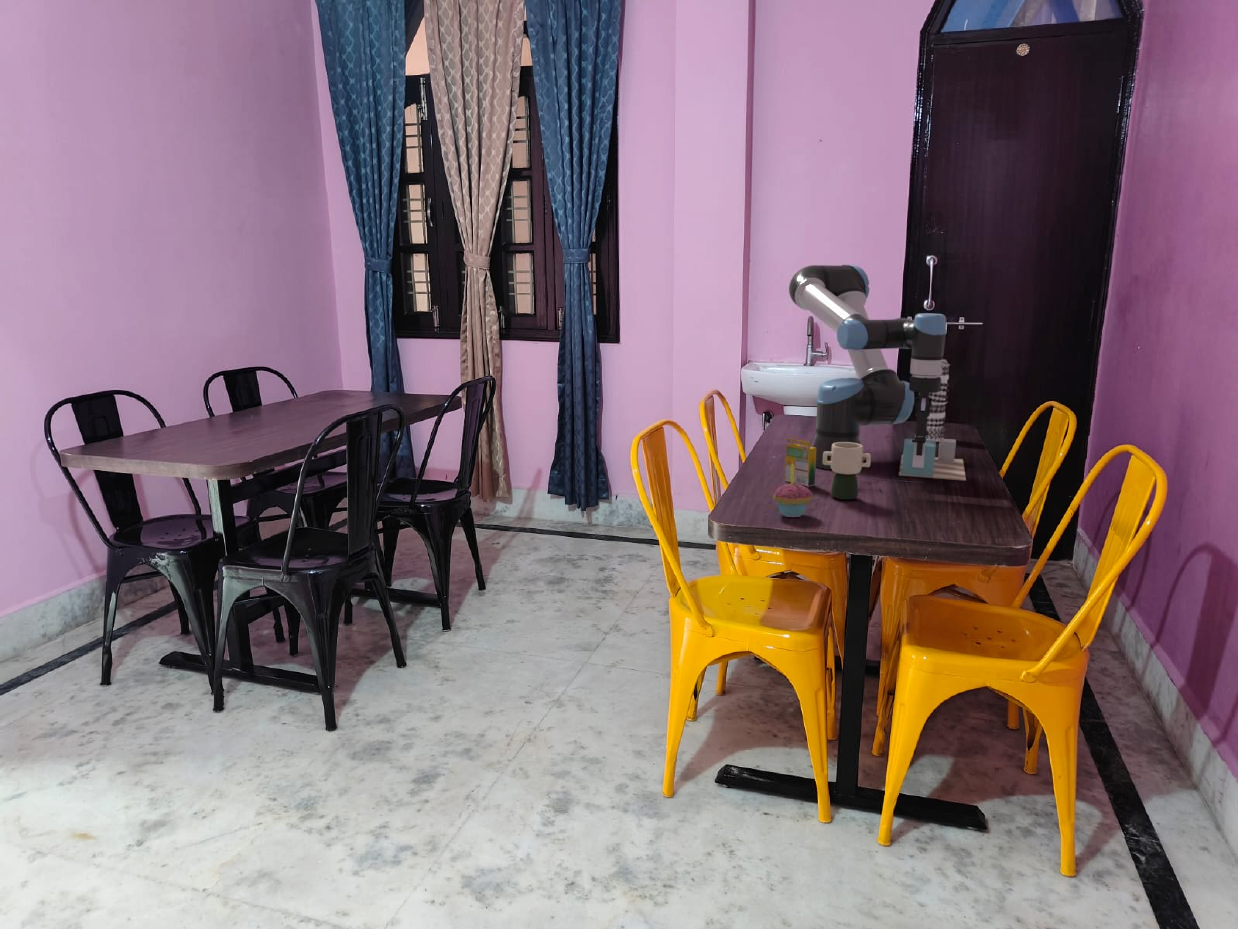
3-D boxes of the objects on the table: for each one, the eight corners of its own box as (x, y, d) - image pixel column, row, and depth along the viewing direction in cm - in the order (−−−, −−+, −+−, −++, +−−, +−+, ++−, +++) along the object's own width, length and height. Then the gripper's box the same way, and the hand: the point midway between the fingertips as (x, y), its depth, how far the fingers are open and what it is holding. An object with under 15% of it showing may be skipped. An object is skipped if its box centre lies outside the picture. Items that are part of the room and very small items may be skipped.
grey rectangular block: (953, 464, 227) (955, 442, 225) (937, 463, 228) (939, 441, 227) (953, 461, 231) (955, 439, 229) (937, 459, 232) (939, 438, 230)
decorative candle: (913, 435, 271) (920, 357, 265) (944, 437, 268) (952, 358, 262) (913, 440, 263) (920, 360, 257) (945, 442, 260) (952, 361, 254)
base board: (965, 486, 211) (965, 480, 211) (898, 480, 216) (898, 475, 216) (962, 464, 233) (962, 459, 232) (901, 460, 238) (901, 454, 238)
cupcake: (768, 510, 192) (770, 458, 189) (805, 509, 192) (808, 458, 189) (778, 521, 183) (780, 468, 180) (816, 520, 184) (819, 467, 181)
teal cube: (932, 476, 214) (935, 446, 212) (901, 474, 217) (903, 444, 215) (933, 469, 221) (935, 440, 219) (902, 467, 224) (904, 438, 222)
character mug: (867, 495, 203) (870, 442, 200) (868, 503, 196) (872, 449, 193) (820, 493, 205) (823, 440, 202) (820, 501, 199) (823, 447, 195)
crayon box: (815, 485, 212) (817, 440, 209) (807, 487, 210) (810, 442, 207) (791, 479, 217) (793, 435, 215) (784, 481, 215) (786, 437, 213)
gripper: (941, 382, 202) (933, 474, 208) (941, 371, 221) (933, 456, 227) (908, 380, 205) (901, 471, 210) (911, 370, 224) (904, 453, 229)
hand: (918, 463), depth 218 cm, fingers closed on teal cube, 8 cm apart
